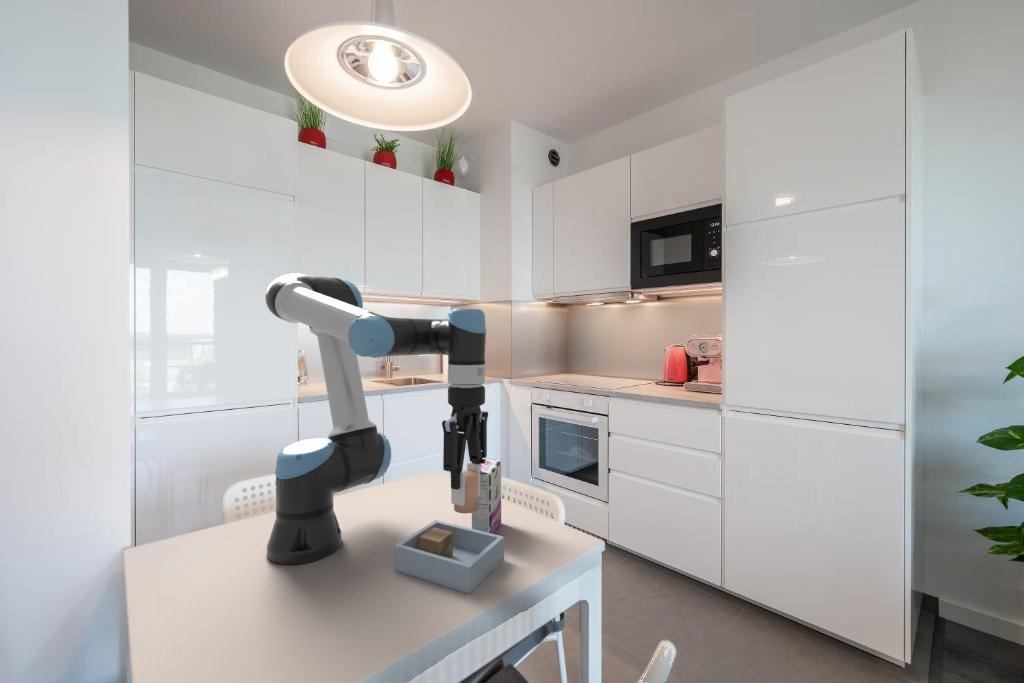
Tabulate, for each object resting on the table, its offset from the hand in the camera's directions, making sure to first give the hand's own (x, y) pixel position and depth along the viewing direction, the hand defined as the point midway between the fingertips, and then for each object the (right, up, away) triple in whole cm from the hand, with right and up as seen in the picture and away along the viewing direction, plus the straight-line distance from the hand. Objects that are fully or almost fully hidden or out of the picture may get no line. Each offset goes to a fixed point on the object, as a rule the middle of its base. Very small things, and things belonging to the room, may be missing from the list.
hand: (465, 499), depth 89 cm
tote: (-4, -15, +3) cm, 15 cm away
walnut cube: (-7, -14, +4) cm, 16 cm away
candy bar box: (+3, -15, +18) cm, 24 cm away
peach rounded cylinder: (0, -2, 0) cm, 2 cm away
